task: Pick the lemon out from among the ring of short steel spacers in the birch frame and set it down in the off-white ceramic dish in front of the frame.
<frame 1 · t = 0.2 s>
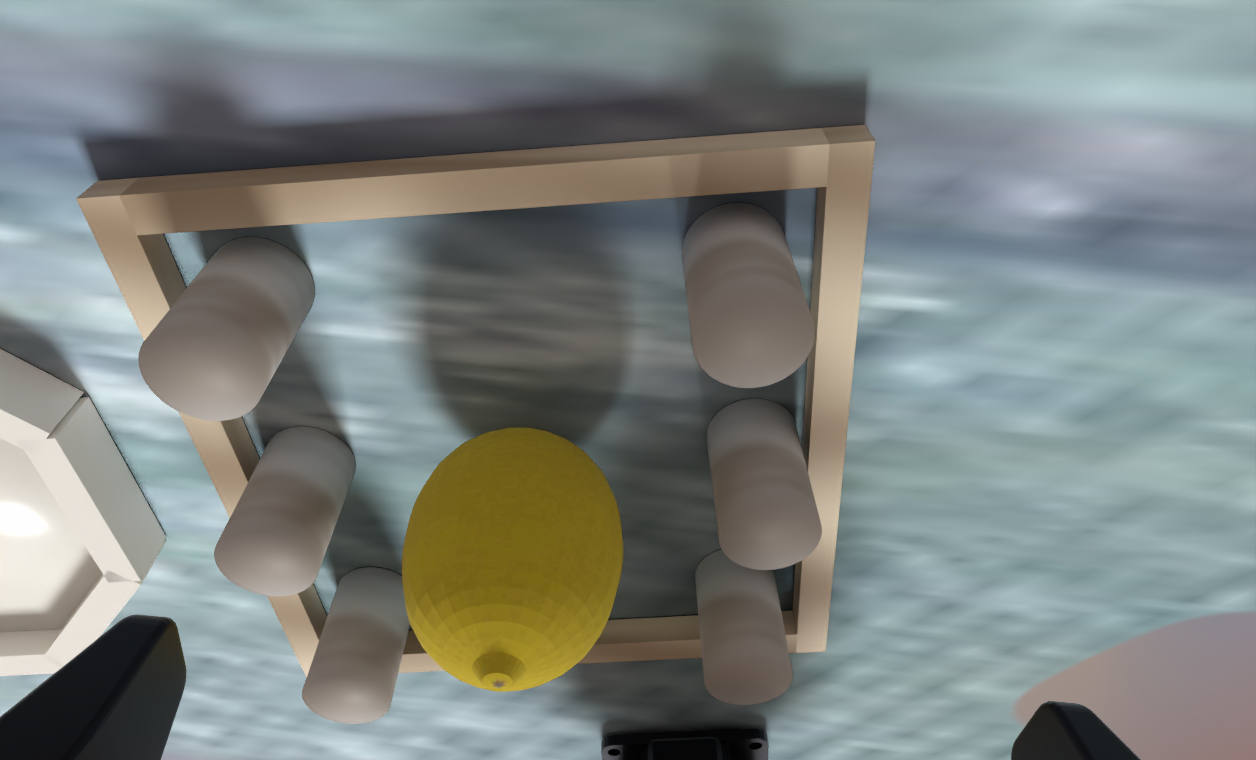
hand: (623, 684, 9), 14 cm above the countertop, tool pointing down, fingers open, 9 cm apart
lemon: (529, 442, 26), resting in spacer field
spacer field: (529, 447, 25), on the countertop
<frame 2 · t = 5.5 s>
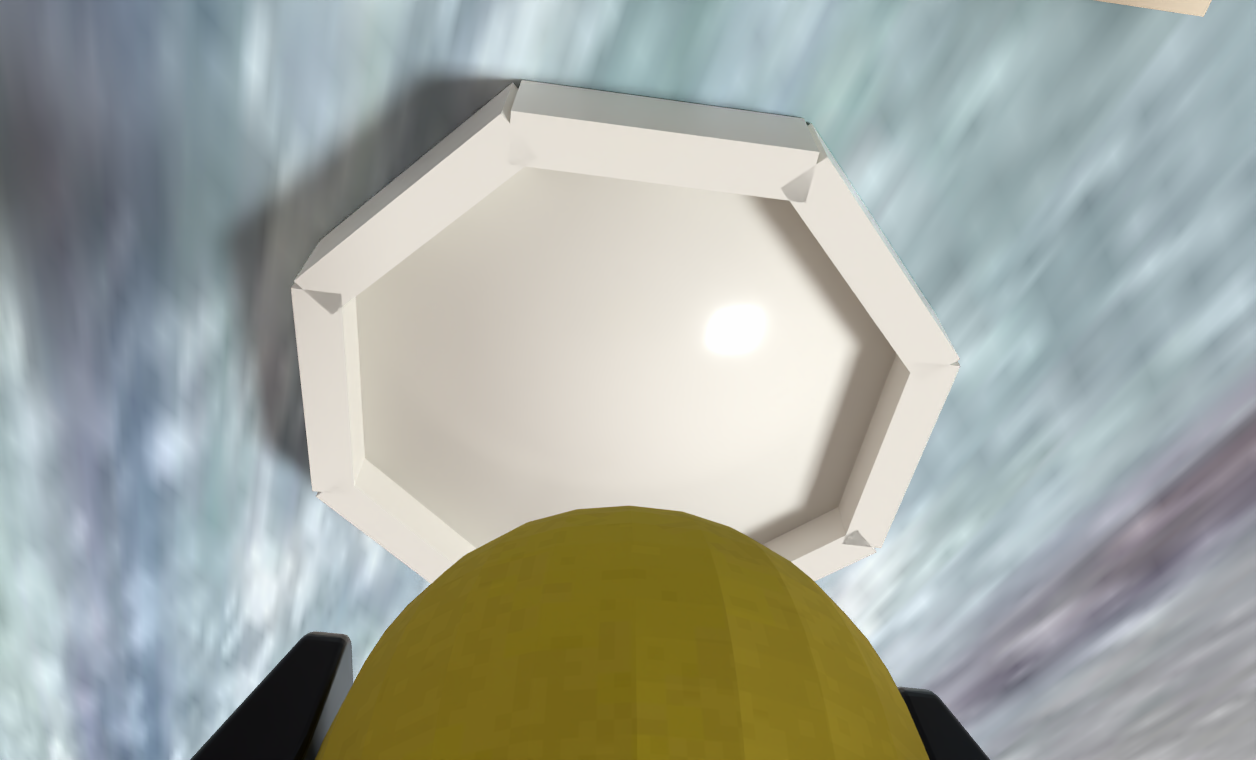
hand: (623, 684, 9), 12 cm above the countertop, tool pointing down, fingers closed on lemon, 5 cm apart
dish: (619, 385, 21), on the countertop
lemon: (622, 526, 11), point 9 cm above the countertop, touching gripper
when the fingers open (4 cm above the countertop, at t = 8.0 s): lemon drops 1 cm, resting on dish.
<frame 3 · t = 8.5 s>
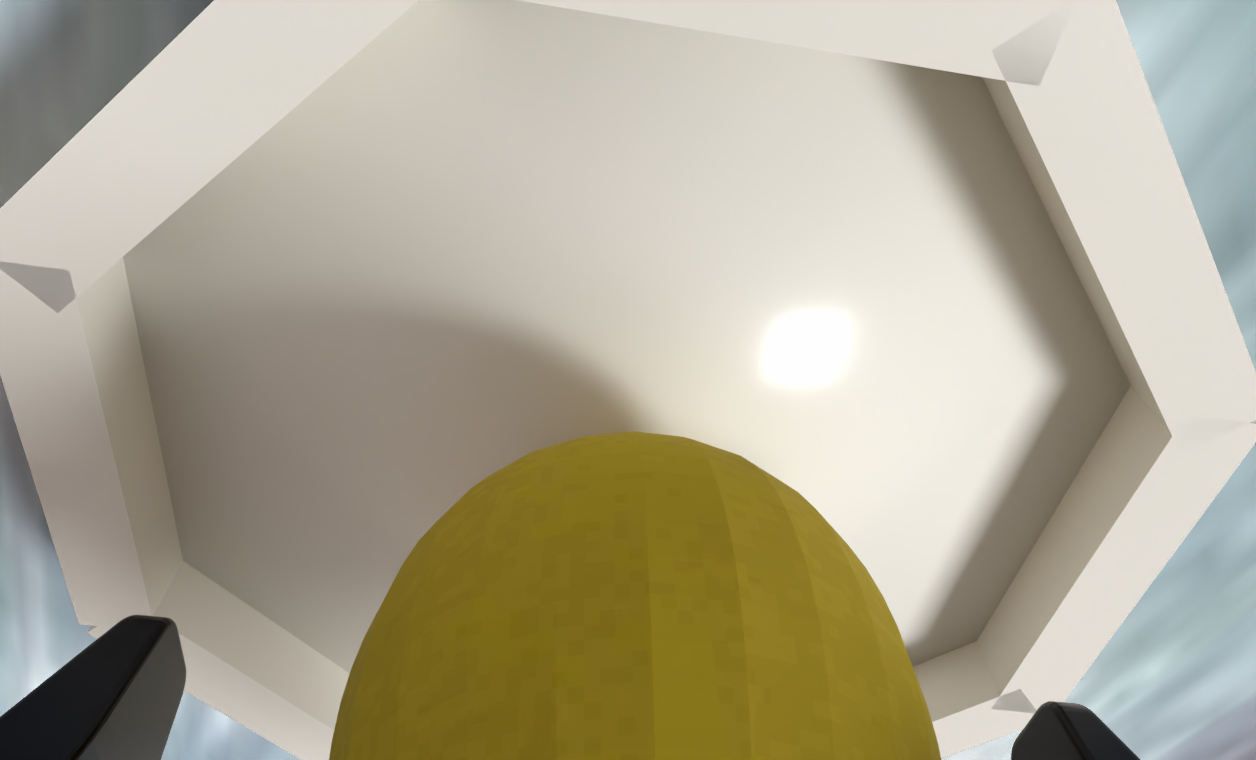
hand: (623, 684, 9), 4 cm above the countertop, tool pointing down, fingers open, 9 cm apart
dish: (622, 441, 12), on the countertop
lemon: (625, 468, 12), point 1 cm above the countertop, touching dish
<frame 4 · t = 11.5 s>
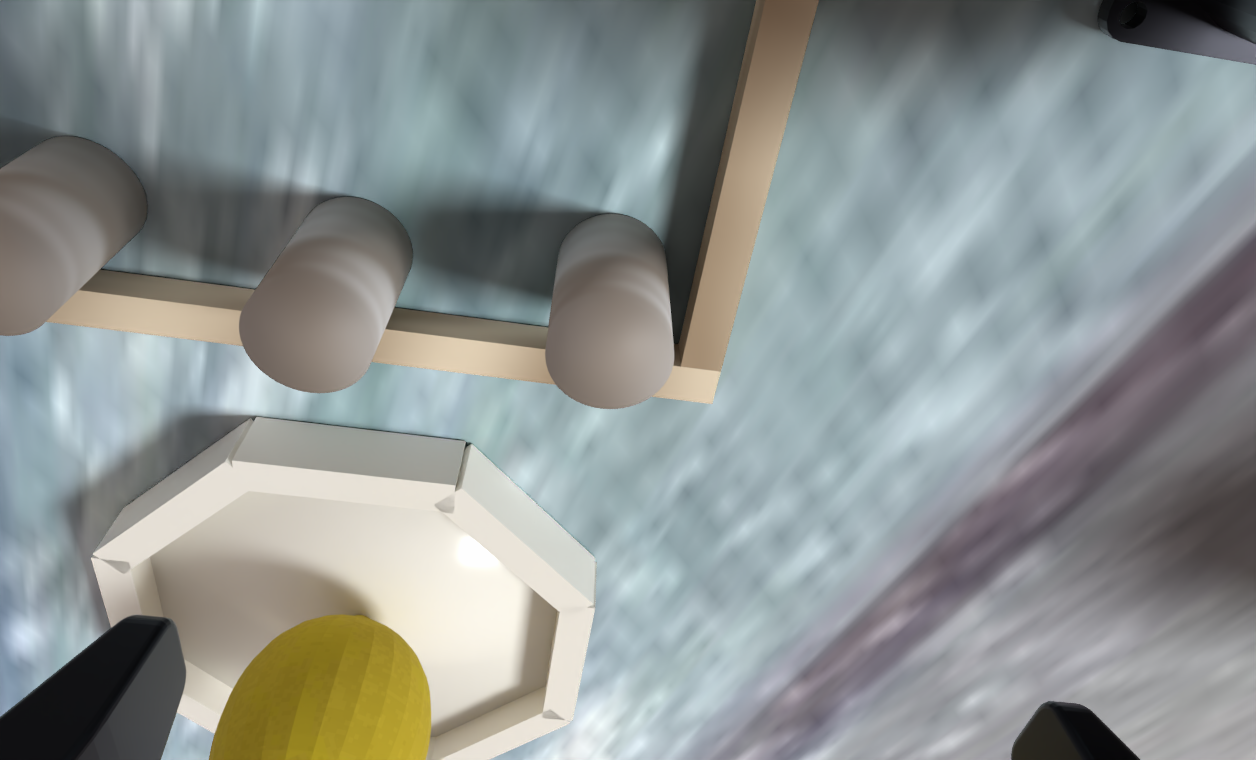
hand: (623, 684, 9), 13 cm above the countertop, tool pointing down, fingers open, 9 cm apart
dish: (366, 599, 28), on the countertop
lemon: (363, 613, 27), point 1 cm above the countertop, touching dish
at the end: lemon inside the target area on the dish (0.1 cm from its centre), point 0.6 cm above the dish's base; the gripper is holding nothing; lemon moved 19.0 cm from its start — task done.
